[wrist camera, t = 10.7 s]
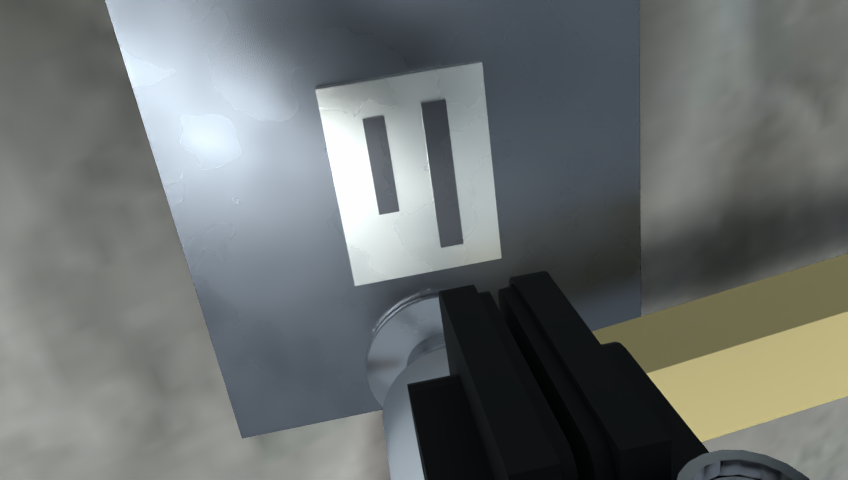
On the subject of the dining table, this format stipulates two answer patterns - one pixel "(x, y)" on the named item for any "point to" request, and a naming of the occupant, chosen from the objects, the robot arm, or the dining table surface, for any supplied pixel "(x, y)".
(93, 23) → the dining table surface
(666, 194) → the dining table surface
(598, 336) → the swing arm
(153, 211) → the dining table surface
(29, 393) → the dining table surface
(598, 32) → the chassis
